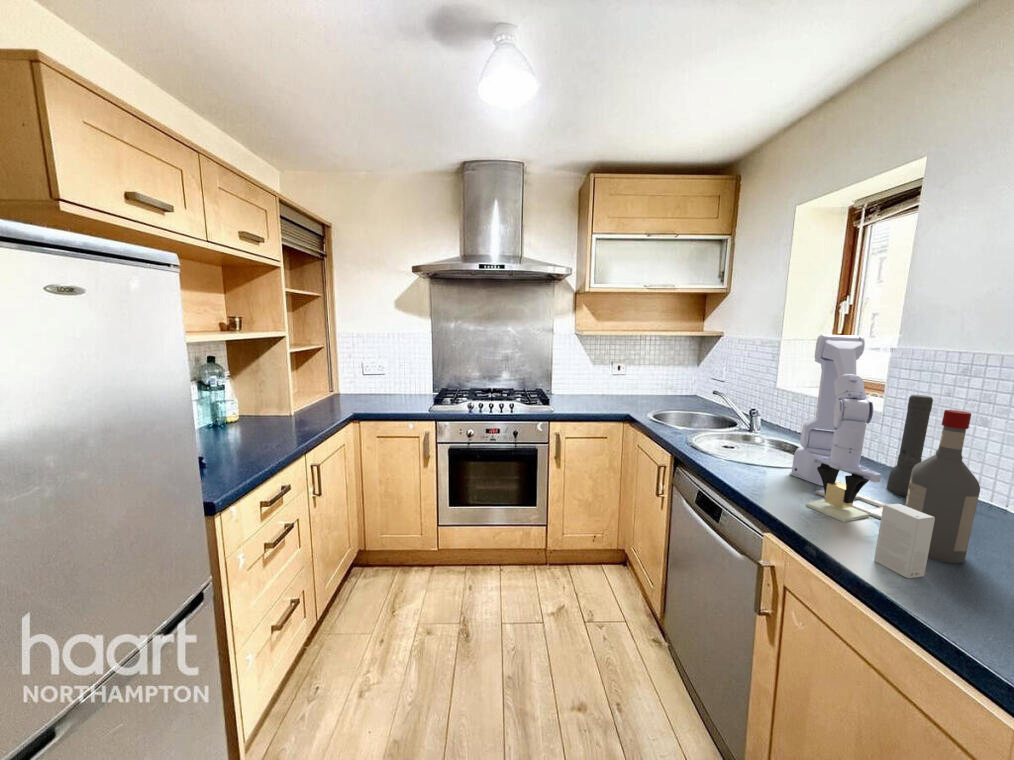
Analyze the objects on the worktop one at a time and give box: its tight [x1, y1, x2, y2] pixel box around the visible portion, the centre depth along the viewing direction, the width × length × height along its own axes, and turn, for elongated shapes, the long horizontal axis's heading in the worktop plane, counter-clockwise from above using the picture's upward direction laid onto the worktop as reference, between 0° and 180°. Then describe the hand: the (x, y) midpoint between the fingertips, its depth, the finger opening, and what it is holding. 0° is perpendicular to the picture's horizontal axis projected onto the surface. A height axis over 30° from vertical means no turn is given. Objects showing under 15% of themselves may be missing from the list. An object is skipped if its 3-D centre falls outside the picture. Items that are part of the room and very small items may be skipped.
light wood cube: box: [824, 481, 854, 509], centre depth 101 cm, size 4×4×5 cm
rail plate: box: [815, 489, 888, 520], centre depth 106 cm, size 18×10×1 cm, turn 20°
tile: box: [805, 498, 870, 523], centre depth 102 cm, size 9×9×1 cm
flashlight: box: [886, 394, 934, 497], centre depth 113 cm, size 7×28×7 cm
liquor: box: [904, 409, 981, 564], centre depth 83 cm, size 9×9×30 cm
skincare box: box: [873, 503, 935, 579], centre depth 77 cm, size 6×4×12 cm
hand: (838, 498), depth 101 cm, fingers closed on light wood cube, 4 cm apart
